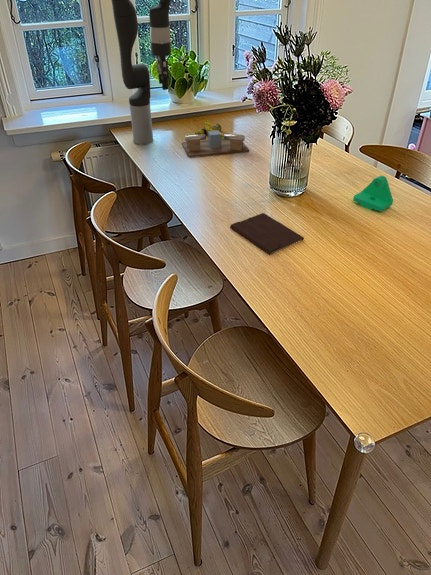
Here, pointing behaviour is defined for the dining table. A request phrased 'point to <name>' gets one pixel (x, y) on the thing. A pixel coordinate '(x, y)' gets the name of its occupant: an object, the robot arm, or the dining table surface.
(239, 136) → the shaft
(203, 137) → the shaft
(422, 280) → the dining table surface
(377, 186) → the green triangle
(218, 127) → the sprinkler
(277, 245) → the notebook
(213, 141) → the block
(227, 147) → the base board
